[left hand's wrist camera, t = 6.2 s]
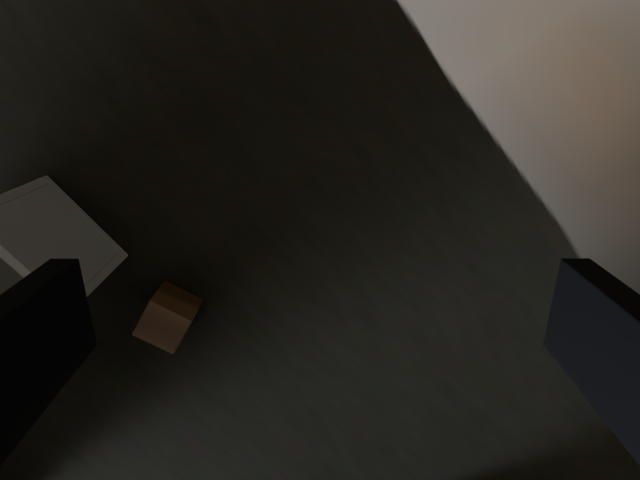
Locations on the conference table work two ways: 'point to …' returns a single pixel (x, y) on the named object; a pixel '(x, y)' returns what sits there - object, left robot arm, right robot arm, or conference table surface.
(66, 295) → the left robot arm
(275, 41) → the conference table surface
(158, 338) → the block
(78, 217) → the chest
